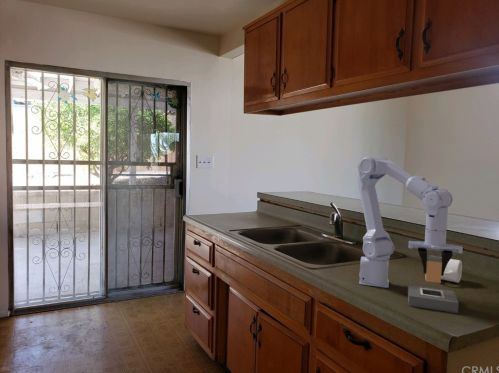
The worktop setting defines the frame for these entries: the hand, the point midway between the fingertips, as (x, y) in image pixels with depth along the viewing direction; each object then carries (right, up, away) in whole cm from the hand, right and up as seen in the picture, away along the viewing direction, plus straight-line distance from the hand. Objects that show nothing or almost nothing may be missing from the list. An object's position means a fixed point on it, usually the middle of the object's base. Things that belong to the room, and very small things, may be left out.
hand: (433, 273), depth 116 cm
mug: (+14, -8, +23) cm, 28 cm away
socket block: (0, -9, 0) cm, 9 cm away
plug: (0, -2, 0) cm, 2 cm away
